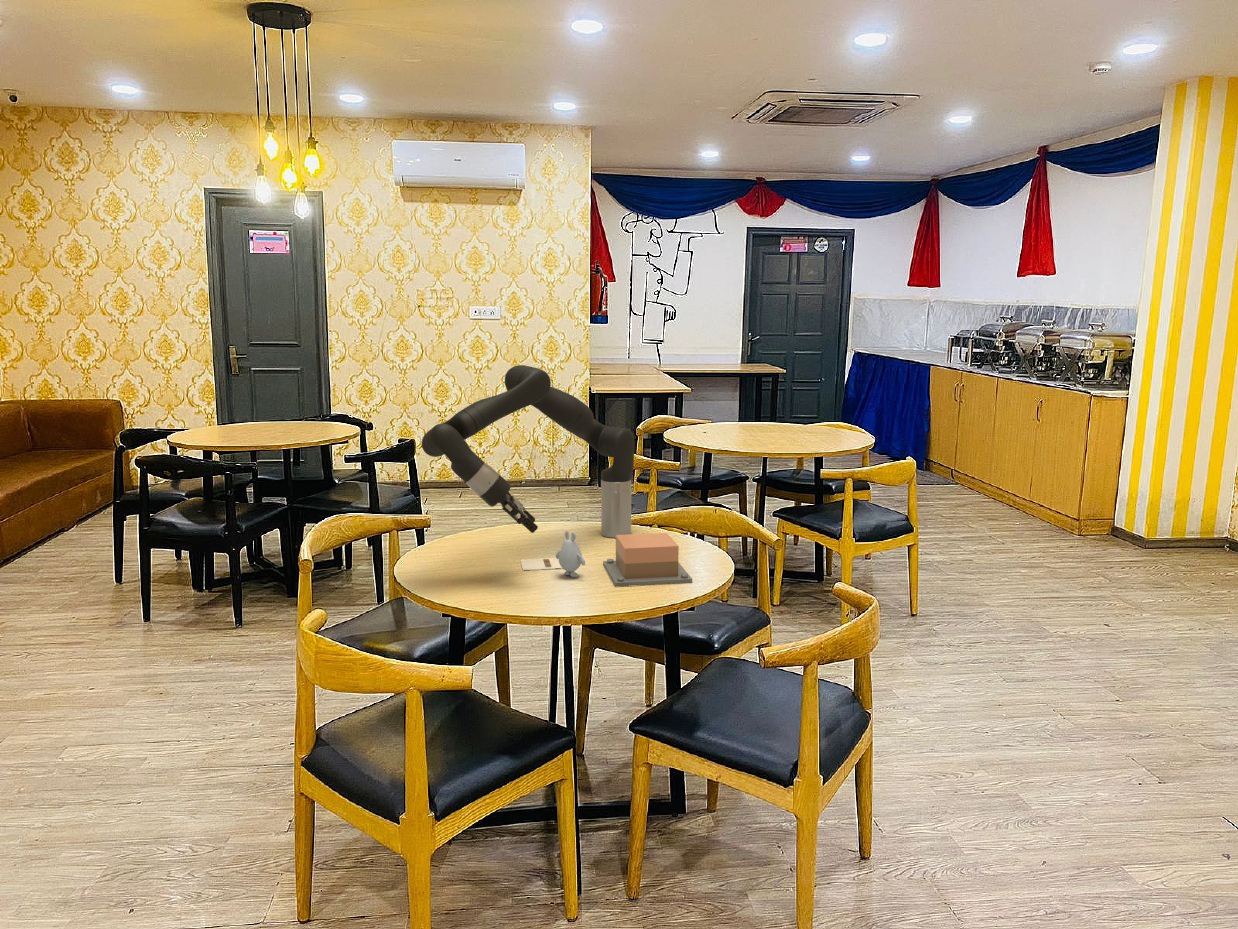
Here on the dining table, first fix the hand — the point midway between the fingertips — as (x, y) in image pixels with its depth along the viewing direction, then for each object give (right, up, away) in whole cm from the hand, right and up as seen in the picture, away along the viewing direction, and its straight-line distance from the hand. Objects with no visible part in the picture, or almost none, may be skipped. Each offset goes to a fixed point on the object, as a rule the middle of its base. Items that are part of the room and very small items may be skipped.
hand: (534, 526), depth 237 cm
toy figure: (+9, -14, +4) cm, 17 cm away
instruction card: (+2, -11, +15) cm, 19 cm away
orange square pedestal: (+29, -13, +6) cm, 32 cm away
